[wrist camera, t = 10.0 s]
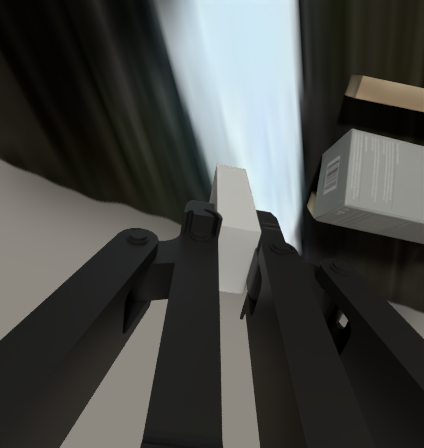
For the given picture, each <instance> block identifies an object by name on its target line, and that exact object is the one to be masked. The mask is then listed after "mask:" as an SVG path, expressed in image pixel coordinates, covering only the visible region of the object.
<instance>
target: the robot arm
mask: <svg viewBox="0 0 424 448" xmlns="http://www.w3.org/2000/svg"><path fill="white" fill-rule="evenodd" d="M246 283H247V290H248V292H247V295H246V299H245V302H244V305H243V308H242V312H241V316H240V319H243V317H244V315H245V314H246V322H247V330H248V340H249V349H250V357H251V367H252V376H253V385H254V394H255V404H256V412H257V422H258V431H259V440H260V448H424V339H423V338H422V337H421V336H420V335H419V334H418V333H417V332H416V331H415V330H414V328H412V326H411V325H410V324H409V323H408V322H407V321H406V320H405V319H404V318H403V317H402V316H401V315H400V314H399V313H398V312H397V311H396V310H395V309H394V308H393V307H392V306H391V305H390V304H389V303H388V302H387V301H386V299H385V298H384V297H383V296H382V295H381V294H380V293H379V292H378V291H377V290H376V289H375V288H374V287H373V286H372V285H371V284H370V283H369V282H368V281H367V280H366V279H365V278H364V277H363V276H362V275H361V274H360V273H359V272H358V270H356V269H355V268H354V267H353V266H352V265H350V264H348V263H346V262H345V261H343V260H340V259H333V258H327V259H324V260H322V261H321V263H320V266H319V267H318V266H315V265H312V264H309V263H306V262H304V261H301V259H300V256H299V254H298V252H297V250H296V249H295V248H294V247H293V246H291V245H290V244H288V243H286V242H285V240H284V237H283V234H282V231H281V229H280V226H279V223H278V220H277V218H276V217H275V216H274V215H273V214H272V213H270V212H265V211H259V210H256V209H255V205H254V201H253V197H252V193H251V189H250V185H249V181H248V177H247V173H246V169H242V168H236V167H230V166H225V165H219V164H217V166H216V171H215V176H214V182H213V187H212V192H211V197H210V202H209V203H207V202H201V201H195V200H191V201H190V202H189V203H187V204H186V208H185V211H184V214H183V220H182V227H181V233H180V235H179V236H178V237H177V238H175V239H172V240H168V241H158V237H157V235H155V234H154V233H153V232H151V231H149V230H146V229H141V228H130V229H126V230H123V231H122V232H120V233H118V234H117V235H116V236H115V237H114V238H113V239H112V240H111V241H110V242H108V243H107V244H106V245H105V246H104V247H103V248H102V249H101V250H100V251H98V252H97V253H96V254H95V255H94V256H93V257H92V258H91V259H90V260H89V261H87V262H86V263H85V264H84V265H83V266H82V267H81V268H80V269H79V270H78V271H76V272H75V273H74V274H73V275H72V276H71V277H70V278H69V279H68V280H66V282H64V283H63V284H62V285H61V286H60V287H59V288H58V289H57V290H55V292H53V293H52V294H51V295H50V296H49V297H48V298H47V299H46V300H44V301H43V302H42V303H41V304H40V305H39V306H38V307H37V308H36V309H35V310H34V311H32V312H31V313H30V314H29V315H28V316H27V317H26V318H25V319H23V320H22V321H21V322H20V323H19V324H18V325H17V326H16V327H15V328H14V329H12V331H10V332H9V333H8V334H7V335H6V336H5V337H4V338H3V339H1V340H0V448H59V447H60V446H61V444H62V443H63V441H64V440H65V438H66V437H67V435H68V433H69V432H70V430H71V429H72V427H73V426H74V424H75V422H76V421H77V419H78V418H79V416H80V414H81V413H82V411H83V410H84V408H85V407H86V405H87V404H88V402H89V400H90V399H91V397H92V396H93V394H94V393H95V391H96V389H97V388H98V386H99V385H100V383H101V382H102V380H103V378H104V377H105V375H106V374H107V372H108V371H109V369H110V368H111V366H112V364H113V363H114V361H115V359H116V358H117V357H118V355H119V353H120V352H121V350H122V349H123V347H124V346H125V344H126V342H127V341H128V339H129V338H130V336H131V334H132V333H133V331H134V329H135V328H136V326H137V325H138V323H139V322H140V320H141V319H142V317H143V316H144V314H145V313H146V311H147V309H148V308H149V306H150V303H151V300H161V299H168V304H167V309H166V315H165V321H164V326H163V331H162V336H161V342H160V347H159V353H158V358H157V364H156V370H155V375H154V380H153V386H152V391H151V396H150V402H149V408H148V413H147V418H146V424H145V429H144V434H143V440H142V443H141V447H140V448H223V443H222V408H221V407H222V406H221V358H220V357H221V356H220V305H219V291H224V292H231V293H238V294H243V293H244V290H245V287H246ZM342 314H344V315H345V316H346V317H347V319H348V322H347V324H346V326H345V327H343V326H342V325H341V324H340V323H339V320H340V318H341V316H342Z"/></svg>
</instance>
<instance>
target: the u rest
mask: <svg viewBox="0 0 424 448" xmlns="http://www.w3.org/2000/svg"><path fill="white" fill-rule="evenodd" d="M345 95H347V96H350V97H353V98H357V99H362V100H367V101H372V102H377V103H382V104H387V105H392V106H397V107H402V108H407V109H412V110H417V111H422V112H424V88H419V87H414V86H409V85H404V84H400V83H395V82H390V81H385V80H380V79H376V78H371V77H366V76H360V75H351V78H350V81H349V84H348V87H347V90H346V93H345ZM316 195H317V192H314V191H312V192H311V195H310V198H309V201H308V204H307V207H308V209H309V211H310V212H311V214H312V216H313V214H314V209H315V202H316Z"/></svg>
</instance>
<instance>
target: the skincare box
mask: <svg viewBox="0 0 424 448" xmlns="http://www.w3.org/2000/svg"><path fill="white" fill-rule="evenodd" d="M313 218H314V219H316V220H317V221H320V222H324V223H329V224H333V225H338V226H342V227H347V228H352V229H356V230H361V231H366V232H370V233H375V234H380V235H384V236H389V237H394V238H398V239H403V240H408V241H412V242H417V243H422V244H424V146H420V145H416V144H412V143H408V142H404V141H400V140H396V139H392V138H388V137H384V136H380V135H376V134H372V133H367V132H364V131H359V130H356V129H351V130H350V131H349V132H348V133H346V134H345V135H344V136H343V137H342V138H341V139H339V140H338V141H337V142H336V143H335V144H334V145H333V146H332V147H331V148H329V149H328V150H327V151H326V152H325V153H323V155H322V164H321V170H320V176H319V182H318V189H317V195H316V202H315V209H314V214H313Z"/></svg>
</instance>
